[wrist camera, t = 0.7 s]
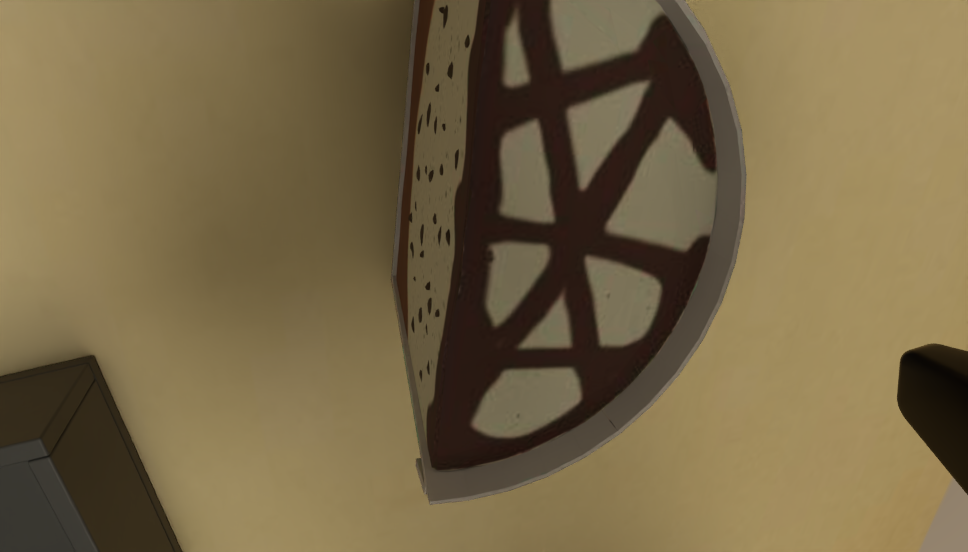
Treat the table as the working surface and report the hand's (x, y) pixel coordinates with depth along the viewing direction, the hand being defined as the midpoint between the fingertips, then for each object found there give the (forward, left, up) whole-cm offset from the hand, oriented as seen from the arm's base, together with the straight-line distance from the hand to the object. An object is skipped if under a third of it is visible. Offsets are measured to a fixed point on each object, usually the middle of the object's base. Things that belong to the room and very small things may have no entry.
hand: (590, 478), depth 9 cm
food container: (+1, -2, -15) cm, 15 cm away
